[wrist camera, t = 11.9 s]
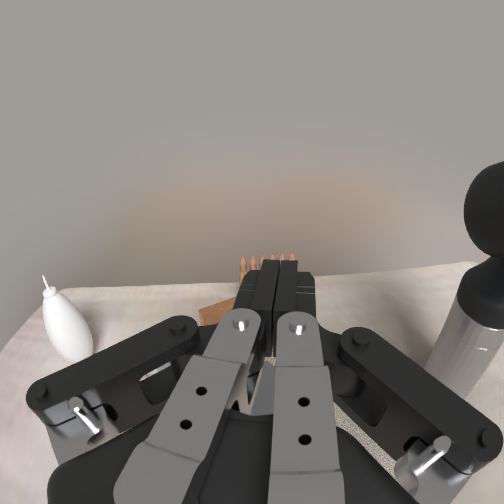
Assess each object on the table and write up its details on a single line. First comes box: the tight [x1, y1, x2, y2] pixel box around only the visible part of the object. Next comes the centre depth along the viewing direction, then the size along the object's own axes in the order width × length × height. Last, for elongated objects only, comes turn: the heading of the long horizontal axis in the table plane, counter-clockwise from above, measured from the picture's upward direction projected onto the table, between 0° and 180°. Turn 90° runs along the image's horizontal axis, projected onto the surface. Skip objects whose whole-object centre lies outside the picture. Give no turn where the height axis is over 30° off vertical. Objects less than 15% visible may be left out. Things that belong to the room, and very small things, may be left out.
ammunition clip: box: [240, 253, 295, 286], centre depth 52 cm, size 11×2×12 cm, turn 94°
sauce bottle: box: [43, 276, 93, 364], centre depth 37 cm, size 8×8×18 cm
